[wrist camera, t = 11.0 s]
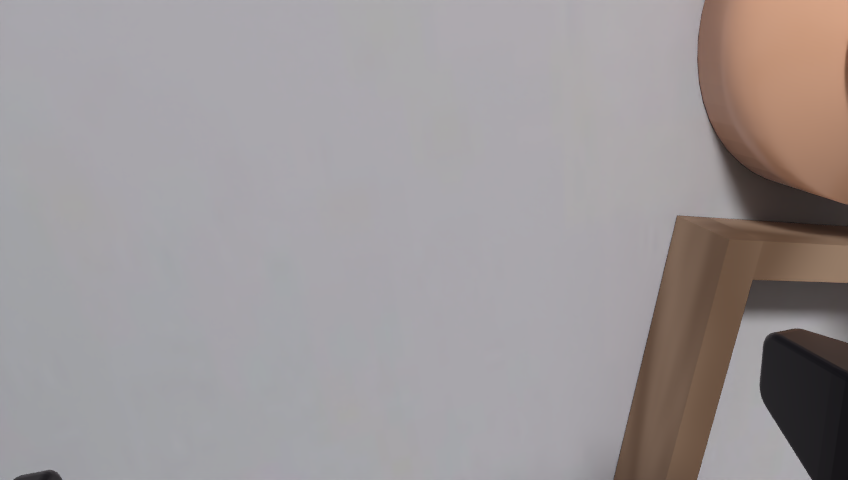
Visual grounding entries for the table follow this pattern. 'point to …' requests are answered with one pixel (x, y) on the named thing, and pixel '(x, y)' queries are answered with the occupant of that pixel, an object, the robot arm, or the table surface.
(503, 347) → the table surface
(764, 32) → the terracotta stand
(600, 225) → the table surface
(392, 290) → the table surface
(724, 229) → the brown wooden frame
